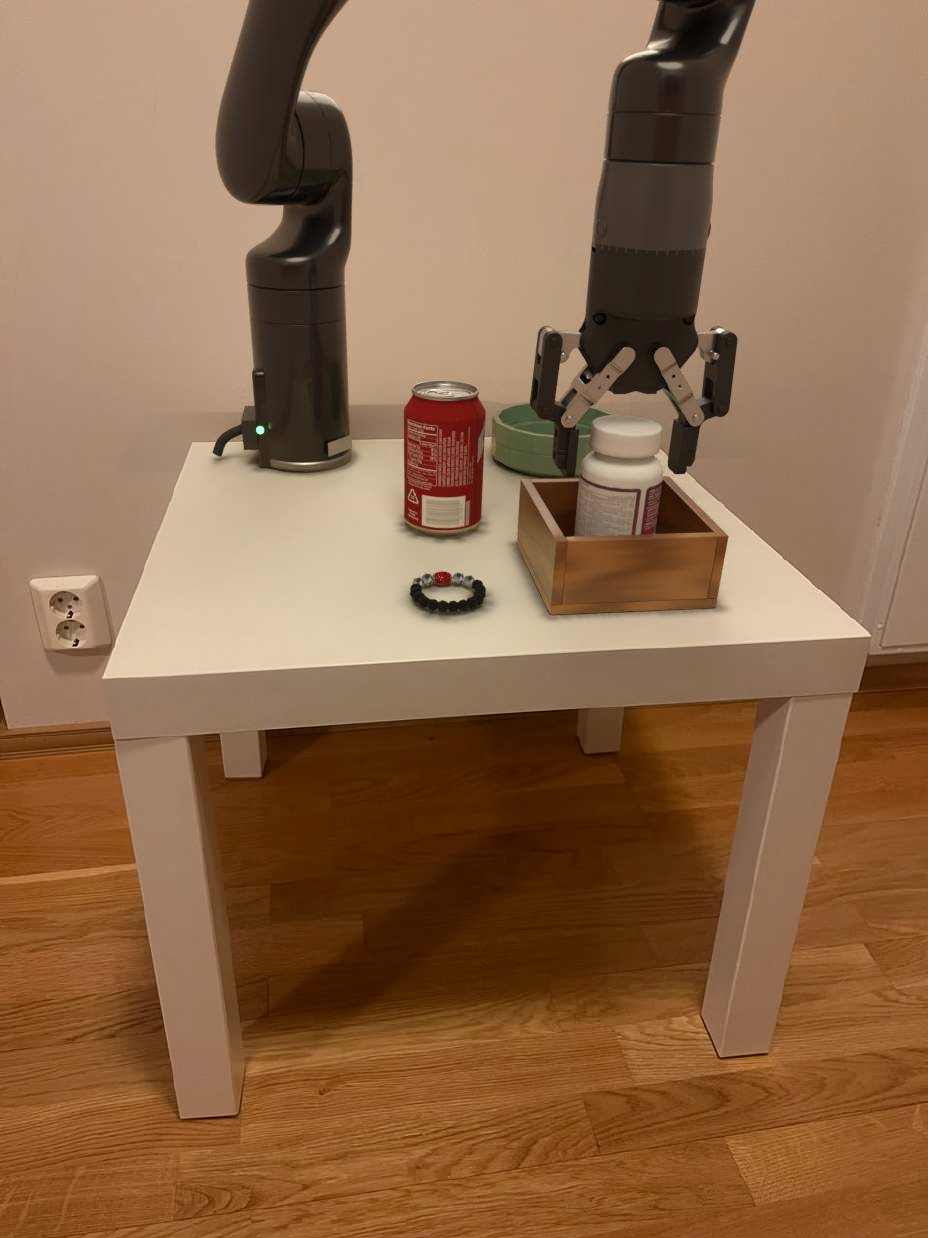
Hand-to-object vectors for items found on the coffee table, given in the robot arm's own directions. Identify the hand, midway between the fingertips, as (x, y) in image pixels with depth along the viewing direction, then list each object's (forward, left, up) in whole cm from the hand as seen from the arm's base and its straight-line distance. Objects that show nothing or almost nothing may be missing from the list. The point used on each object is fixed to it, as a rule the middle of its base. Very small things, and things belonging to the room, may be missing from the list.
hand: (621, 472), depth 68 cm
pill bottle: (0, 0, -8) cm, 8 cm away
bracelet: (-13, -3, -8) cm, 16 cm away
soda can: (-12, +11, -9) cm, 18 cm away
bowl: (+2, +28, -8) cm, 29 cm away
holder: (0, 0, -8) cm, 8 cm away
